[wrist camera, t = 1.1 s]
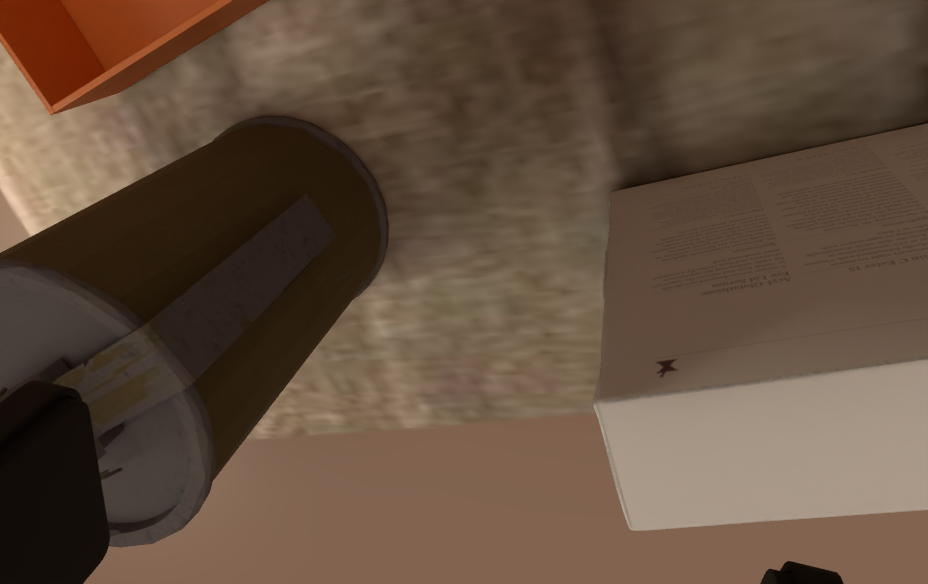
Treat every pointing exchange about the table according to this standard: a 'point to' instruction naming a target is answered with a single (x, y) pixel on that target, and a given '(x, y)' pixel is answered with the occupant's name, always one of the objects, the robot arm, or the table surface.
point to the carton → (104, 41)
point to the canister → (191, 306)
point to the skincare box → (770, 338)
